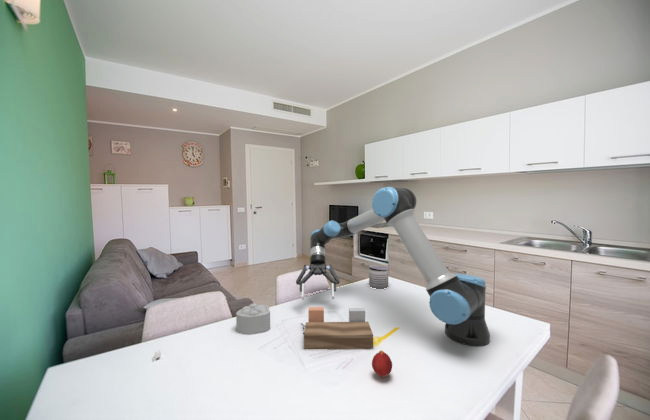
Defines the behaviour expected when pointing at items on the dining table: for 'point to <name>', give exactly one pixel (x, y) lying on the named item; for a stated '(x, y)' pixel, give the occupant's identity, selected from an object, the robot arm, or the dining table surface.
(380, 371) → the red oval fruit
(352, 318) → the grey plunger
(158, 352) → the adhesive hook
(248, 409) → the dining table surface
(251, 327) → the lumpy-topped squat cylinder
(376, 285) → the can
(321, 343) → the plunger housing
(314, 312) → the peach rectangular block
